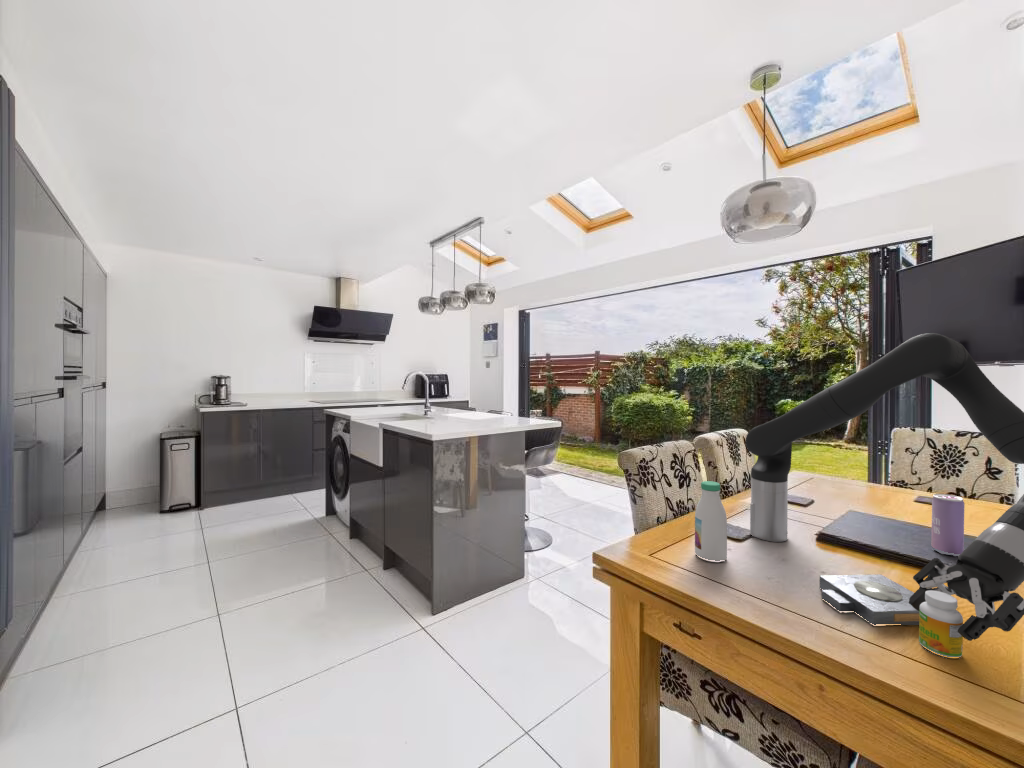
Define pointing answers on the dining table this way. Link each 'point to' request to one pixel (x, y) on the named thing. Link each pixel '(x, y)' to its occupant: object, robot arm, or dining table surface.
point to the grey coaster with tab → (870, 598)
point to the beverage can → (948, 523)
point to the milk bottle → (710, 524)
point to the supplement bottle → (940, 624)
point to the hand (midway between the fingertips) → (937, 621)
